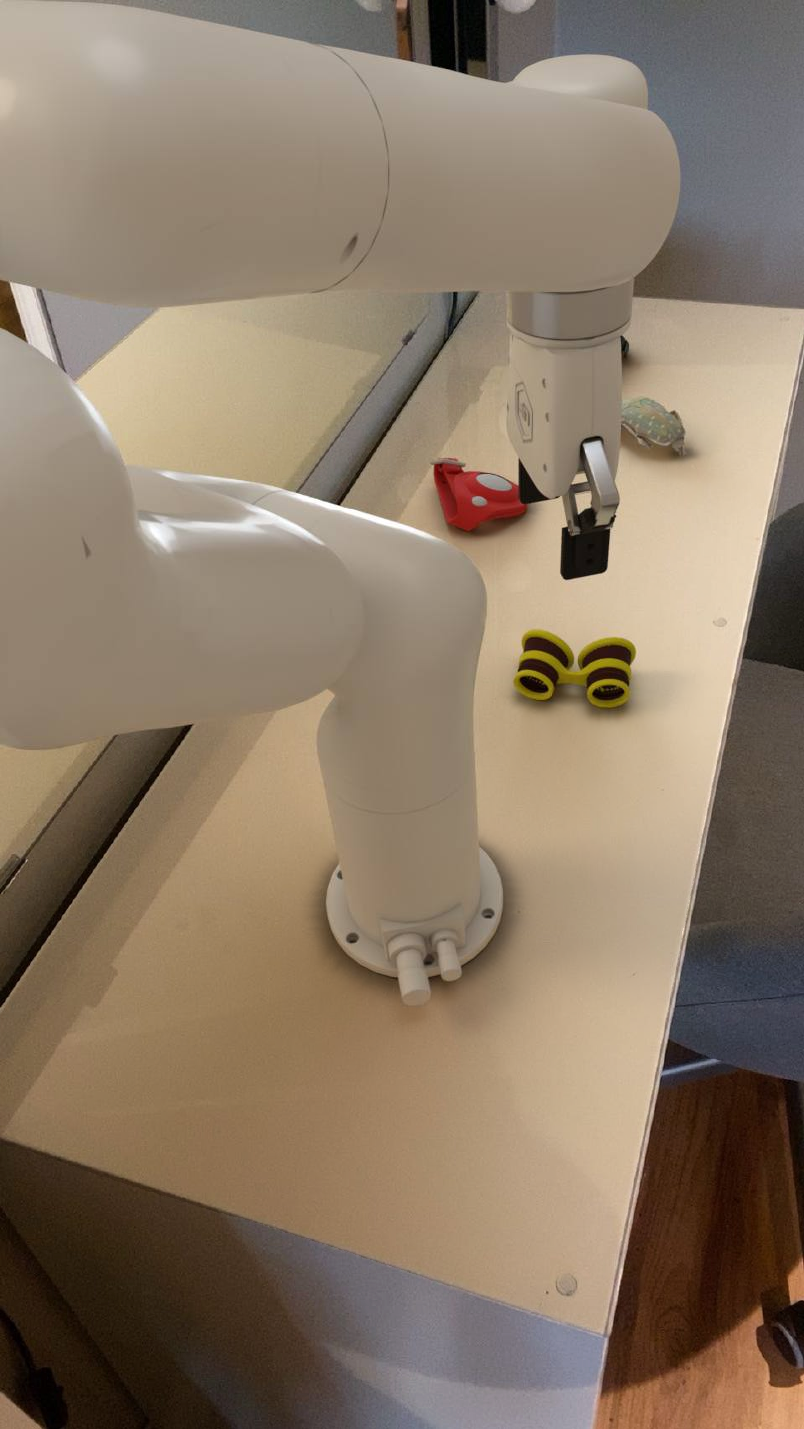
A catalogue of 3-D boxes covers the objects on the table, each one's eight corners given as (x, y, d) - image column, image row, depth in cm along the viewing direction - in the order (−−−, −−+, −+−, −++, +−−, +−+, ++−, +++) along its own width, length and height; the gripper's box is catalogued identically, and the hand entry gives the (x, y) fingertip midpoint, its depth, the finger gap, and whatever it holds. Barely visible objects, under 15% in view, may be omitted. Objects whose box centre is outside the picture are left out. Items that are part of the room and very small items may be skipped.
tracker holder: (543, 481, 111) (513, 512, 103) (530, 519, 113) (500, 551, 105) (440, 439, 113) (403, 467, 105) (430, 477, 116) (393, 506, 108)
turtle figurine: (688, 402, 120) (685, 367, 116) (686, 468, 114) (684, 432, 110) (610, 411, 123) (605, 376, 119) (605, 475, 117) (599, 440, 113)
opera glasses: (513, 704, 90) (510, 670, 86) (523, 656, 93) (521, 620, 89) (627, 718, 88) (630, 683, 84) (634, 668, 91) (638, 631, 86)
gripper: (472, 257, 69) (478, 482, 81) (554, 371, 57) (547, 618, 69) (581, 239, 70) (571, 465, 82) (686, 349, 57) (656, 596, 69)
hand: (560, 535), depth 75 cm, fingers open, 9 cm apart
